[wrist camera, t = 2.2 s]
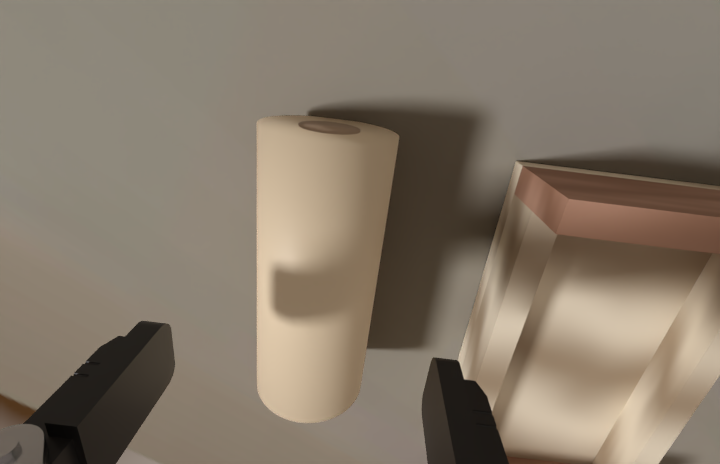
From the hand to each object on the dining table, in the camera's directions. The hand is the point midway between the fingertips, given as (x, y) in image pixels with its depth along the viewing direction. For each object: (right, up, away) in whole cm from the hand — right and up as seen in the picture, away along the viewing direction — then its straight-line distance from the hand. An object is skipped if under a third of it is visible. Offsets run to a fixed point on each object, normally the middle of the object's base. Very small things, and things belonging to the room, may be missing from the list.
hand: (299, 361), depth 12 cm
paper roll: (0, +2, +4) cm, 5 cm away
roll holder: (+13, -2, +8) cm, 15 cm away
